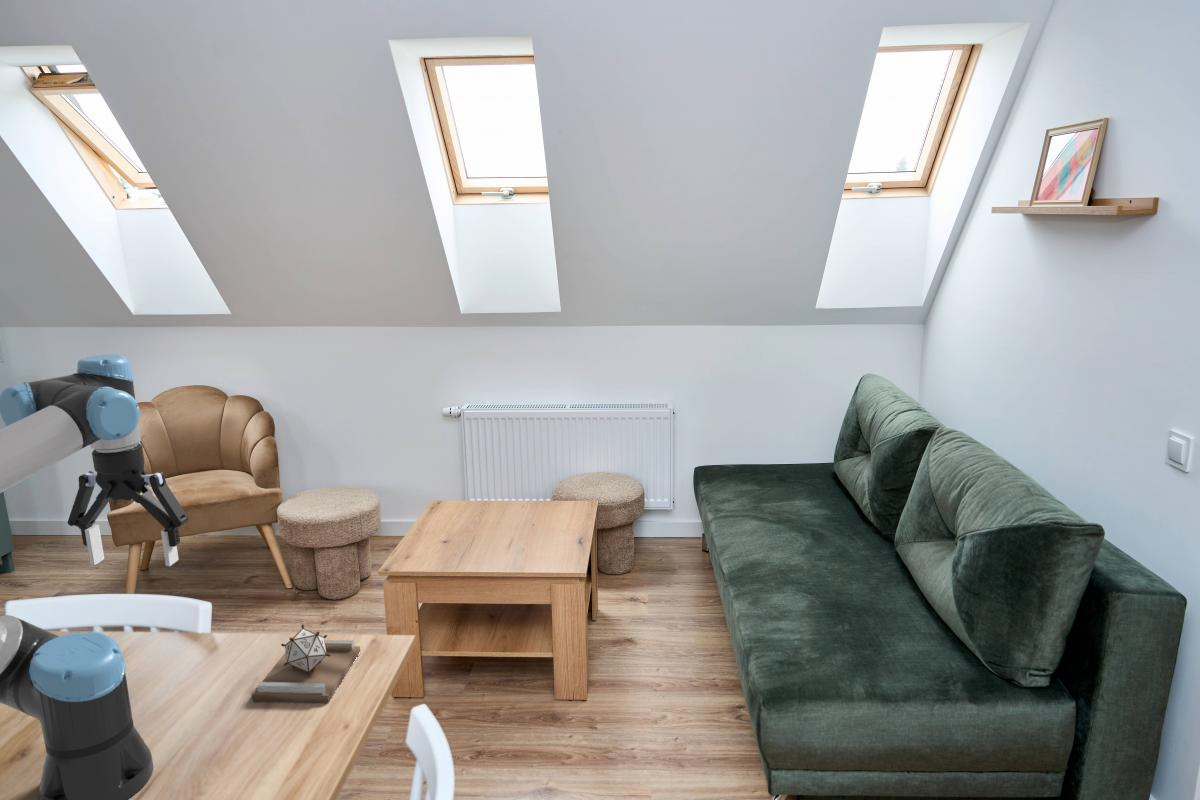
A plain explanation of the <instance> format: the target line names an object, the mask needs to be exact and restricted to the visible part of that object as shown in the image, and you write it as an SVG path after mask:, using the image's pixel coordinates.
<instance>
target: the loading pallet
mask: <svg viewBox="0 0 1200 800" xmlns="http://www.w3.org/2000/svg"><path fill="white" fill-rule="evenodd" d="M324 640H325V646H326V652H327V654H330V655H331V656H329V657H328V656H325V657H324V658H323V659H322V662H320V663H318V664H317V665H316V666H315V667H314V668H313V669H312V670H311V671H310V674H311V675H310V677H309V676H308V672H306V671H304V670H301V669H299V668H296V667H295V668H293V667H292V665H289V664H287V665H286V666H283V665H284V663H287V659H286V652H285V653H284V654H283V655H282V656H281V657H280V659H279V660H278V661H277V662H276V664H275V665H274V666H273V667H272V669H271V670H270V671H269V672H268V674H267V675H266V676H265V678H264V679H263V680H262V681H260V682H259V683H258V684H257V687H256V688H255V689H254V691H253V692H252V693H251V697H252V702H253V703H256V702H257V703H298V704H299V703H300V704H301V703H303V704H304V703H305V704H329V703H330V701H331V700H332V699H333V697H332V696H334V695H335V694H336V692H337V691H336V690H338V689H337V688H339V687H340V686H341V684H342V683H343V681H344V680H345V678H346V677H347V675H348V674H347V672H348V671H349V672H350V670H351V669H350V667H351V666H352V664H353V662H354V661H355V659H356V657H357V656H358V654H359V652H361V646H360V645H359V646H357V645H356V646H355V640H351V639H350V640H348V639H345V640H343V639H342V640H341V639H324ZM358 657H359V656H358ZM355 662H356V661H355ZM353 665H354V664H353ZM352 667H353V666H352ZM352 667H351V668H352ZM349 669H350V670H349ZM349 672H348V673H349ZM346 674H347V675H346ZM345 676H346V677H345ZM344 677H345V678H344ZM343 679H344V680H343ZM342 680H343V681H342ZM341 682H342V683H341ZM339 685H340V686H339ZM335 691H336V692H335ZM334 693H335V694H334ZM333 694H334V695H333ZM330 699H331V700H330Z"/></svg>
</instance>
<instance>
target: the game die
mask: <svg viewBox="0 0 1200 800" xmlns="http://www.w3.org/2000/svg"><path fill="white" fill-rule="evenodd" d="M327 637H328V634H324V635H320V631H317V632H316V633H315V632H313V631H311V630H310V629H307V628H305V625H304V623H302V624H301V629H300V630H299V631H298V632H297V633H296V634H295V635H294V636H293V637H289V641H288V642H287V643H281V644H280V646H281V647H283V648H284V649H285V650H284V651H285V653H286V659H287V663H284V665H283V666H286V665H287V664H289V665H292V667H293V668H295V667H296V668H299V669H301V670H304V671H306V672H308V676H309V677H310V675H311V674H310V671H311V670H312V669H313V668H314V667H315V666H316V665H317V664H318V663H320V662H322V659H323V658H324V657H325V656H328V657H329V656H331V655H330V654H327V652H326V646H325V640H326V638H327Z"/></svg>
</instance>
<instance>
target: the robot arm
mask: <svg viewBox="0 0 1200 800" xmlns="http://www.w3.org/2000/svg"><path fill="white" fill-rule="evenodd" d="M76 366H77V369H76V372H75V373H73V374H69V375H63V376H58V377H53V378H52V377H51V378H47V379H41V380H36V381H35V380H33V381H30V382H27V381H24V382H23V383H20V384H16V385H12V386H8V387H6V388H4V389H3V391H1V393H0V416H1V419H2V421H3V423H4V424H5V426H4V427H2V428H0V494H2V493H4V492H5V491H7V490H9V489H11V488H13V487H14V486H16V485H18V484H20V483H22V482H23V481H25V480H27V479H29V478H31V477H32V476H34V475H37V473H40V472H42V471H44V470H45V469H47V468H50V467H51V466H54V465H55V464H57V463H58V462H60V461H63V460H65V459H66V458H68V457H69V456H71V455H73V454H75V453H76V452H78V451H81V450H82V449H85V448H86V447H88V446H90V448H91V449H93V450H92V452H91V457H92V463H93V469H94V471H95V472H96V473H95V472H94V471H92V470H89V471H88V472H85V473H83V474H81V475H79V476H78V489H77V490H78V491H77V493H76V495H75V499H74V501H73V505H72V507H71V511H70V514H69V516H68V520H67V524H68V526H69V527H73V526H74V527H77V528H78V529H79V530H80V532H81V539H82V544H83V546H85V547H87V553H88V556H89V557H88V558H89V564H90V566H96V565H97V564H99V563H100V562H102V561H103V560H105V554H104V549H103V548H104V547H103V543H102V542H103V541H102V536H101V530H100V524H95V523H97V521H96V520H97V519H98V518H99V516H100V515H101V513H102V512H103V511H104V510H105V508H106V506H107V505H108V503H109V502H110V501H111V500H113V501H118V500H119V501H120V500H124V501H131V500H133V501H134V502H135V503H137V504H140V505H141V506H142V507H143V509H145V511H147V513H149V514H150V515H151V516H152V517H153V518H154V520H156V521H157V522H158V523H159V524H160V525H161V526H162V527H163V529H162V530H160V535H161V541H162V549H163V554H164V555H163V557H164V562H165V566H166V567H171V566H172V565H174V564H175V563H177V562H178V561H179V554H178V552H179V551H178V545H179V544H180V543H181V538H180V531H179V530H180V529H179V527H181V526H182V525H184V524H186V523H187V522H188V521H189V520H190V519H189V516H188V515H187V513H186V511H185V510H184V508H183V507H182V505H181V503H180V502H179V501H178V499H177V497H176V496H175V494H174V493H173V491H172V490H171V488H170V487H169V485H168V484H167V480H166V477H165V474H164V472H163V471H161V470H160V471H157V472H156V473H151V474H147V473H146V470H145V463H146V462H145V455H144V449H143V445H141V444H140V442H141V441H142V438H141V430H140V424H139V421H140V407H139V404H138V402H137V400H136V396H135V395H136V394H135V387H134V378H133V373H132V369H131V365H130V362H129V360H128V358H127V357H125V356H123V355H119V354H99V355H92V356H87V357H82V358H80V359H79V360H78V362H77V365H76ZM147 484H148V485H147ZM95 485H98V487H100V489H101V490H100V492H98V494H97V496H95V497H96V498H95V500H94V501H93V503H92V505H90V507H89V504H90V500H91V498H92V495H93V492H94V489H95ZM149 487H151V489H150V488H149ZM88 507H89V509H88ZM87 510H88V511H87ZM126 673H127V672H126V661H125V660H124V656H123V654H122V650H121V646H120V645H119V643H118V642H117V641H116V640H115V639H114V638H113V637H111V636H110V635H107V634H105V633H101V632H98V631H97V632H96V631H87V632H86V633H82V632H81V631H79V632H73V633H66V634H63V635H57V634H55V633H52V632H50V631H48V630H46V629H45V628H41V627H39V626H37V625H34V624H33V623H30V622H28V621H26V620H23V619H20V618H18V617H17V616H14V615H9V614H6V615H5V614H3V615H1V616H0V704H3V705H5V706H8V707H10V708H13V709H14V710H16V711H19V712H21V713H23V714H25V715H27V716H30V717H32V718H34V719H37V720H38V721H39V723H40V726H41V727H40V728H41V732H42V735H43V741H44V745H45V750H46V752H45V753H46V756H45V761H44V764H43V765H44V766H43V770H42V774H41V778H40V782H39V798H40V800H129V799H130V798H131V797H132V796H134V795H135V794H137V793H138V792H140V790H141V789H143V788H144V786H146V784H147V783H148V782H149V780H150V779H151V777H152V775H153V772H154V763H153V756H152V752H151V750H150V749H149V746H148V745H147V743H146V742H145V741H144V739H143V738H142V735H141V734H140V733H139V731H138V730H137V729H136V727H135V725H134V720H133V712H132V706H131V700H130V694H129V693H130V692H129V688H128V681H127V675H126Z"/></svg>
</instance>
